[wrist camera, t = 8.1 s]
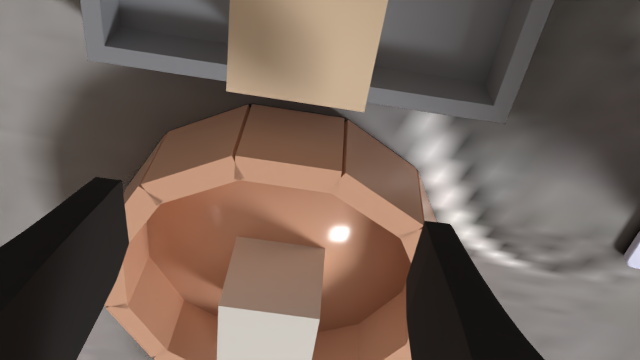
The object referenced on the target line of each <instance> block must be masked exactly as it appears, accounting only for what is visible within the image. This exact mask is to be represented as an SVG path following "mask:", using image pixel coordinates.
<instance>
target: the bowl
mask: <svg viewBox="0 0 640 360" xmlns="http://www.w3.org/2000/svg"><path fill="white" fill-rule="evenodd" d="M344 120H345V118H341V117H335V116H328V115H321V114H315V113H308V112H302V111H295V110H288V109H282V108H275V107H269V106H262V105H255V104H252V105H251V108H250V107H249V105H245V106H242V107H239V108H236V109H233V110H230V111H227V112H224V113H221V114H218V115H215V116H212V117H209V118H207V119H204V120H201V121H198V122H195V123H192V124H189V125H186V126H183V127H180V128H177V129H174V130H171V131H168V133H167V134H165V135H164V137H163V138H162V139H161V141H160V142H159V143H158V145H157V146H156V148H155V149H154V150H153V152H152V153H151V154H150V156H149V157H148V159H147V160H146V161H145V163H144V164H143V165H142V167H141V168H140V170H139V171H138V172H137V174H136V175H135V176H134V178H133V179H132V180H131V182H130V183H129V185H128V186H127V187H126V189H125V191H124V193H123V196H124V204H125V213H126V221H127V229H128V238H129V246H128V249H127V252H126V255H125V258H124V261H123V264H122V266H121V269H120V272H119V275H118V277H117V280H116V282H115V284H114V287H113V289H112V291H111V293H110V295H109V297H108V299H107V301H106V303H105V305H104V306H106V309H107V310H108V311H109V312H110V313H111V314H112V315H113V316H114V318H115V319H116V320H117V321H118V322H119V323H120V324H121V325H122V326H123V327H124V328H125V329H126V331H127V332H128V333H129V334H130V335H131V336H132V337H133V338H134V339H135V340H136V341H137V342H138V344H139V345H140V346H141V347H142V348H143V349H144V350H145V351H146V352H147V353H148V354H149V355H150V357H154V359H155V360H217V335H218V305H219V301H220V298H221V294H222V290H223V286H224V282H225V279H226V275H227V271H228V267H229V264H230V260H231V256H232V252H233V248H234V245H235V241H236V237H237V236H238V237H246V238H253V239H260V240H268V241H275V242H283V243H290V244H297V245H305V246H312V247H319V248H325V259H324V272H323V284H322V297H321V310H320V321H319V326H318V331H317V336H316V341H315V346H314V351H313V356H312V360H412V359H411V352H410V344H409V336H408V328H407V320H406V279H407V275H408V272H409V269H410V266H411V263H412V259H413V256H414V253H415V250H416V247H417V243H418V240H419V237H420V234H421V231H422V227H423V224H424V221H431V222H437V221H436V218H435V215H434V212H433V210H432V207H431V204H430V202H429V199H428V196H427V193H426V191H425V188H424V185H423V183H422V180H421V177H420V175H419V172H418V171H416V168H415V167H414V166H412V165H411V164H409V163H408V162H407V161H405V160H404V159H402V158H401V157H400V156H398V155H397V154H395V153H394V152H393V151H391V150H390V149H389V148H387V147H386V146H384V145H383V144H382V143H380V142H379V141H377V140H376V139H375V138H373V137H372V136H370V135H369V134H368V133H366V132H365V131H364V130H362V129H361V128H359V127H358V126H357V125H355V124H354V123H352V122H351V121H350V120H347V121H346V122H345V123H344Z"/></svg>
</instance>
